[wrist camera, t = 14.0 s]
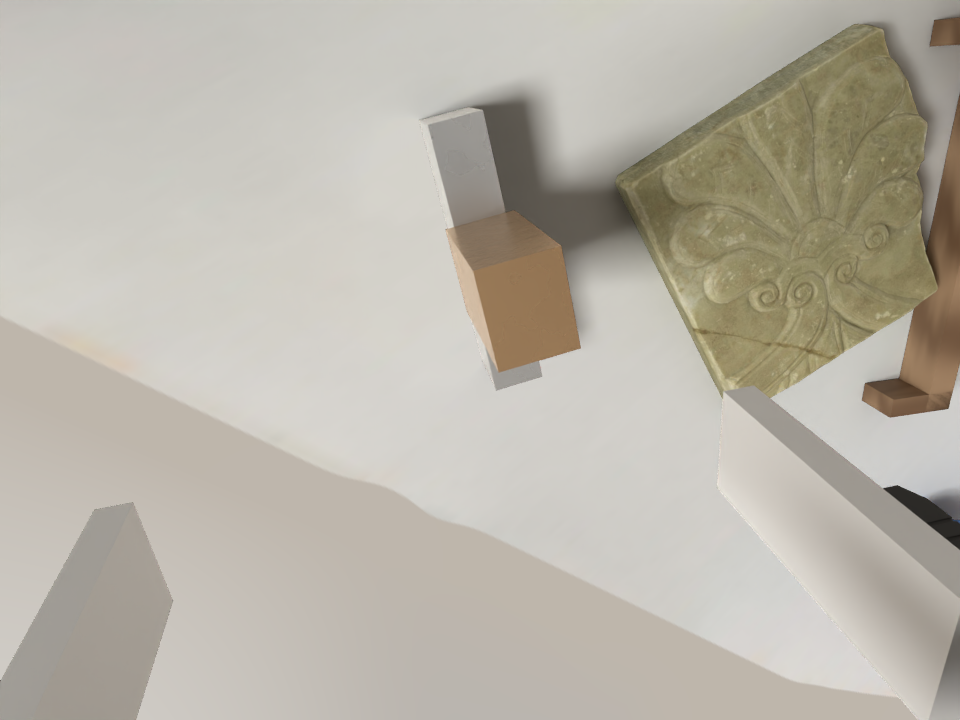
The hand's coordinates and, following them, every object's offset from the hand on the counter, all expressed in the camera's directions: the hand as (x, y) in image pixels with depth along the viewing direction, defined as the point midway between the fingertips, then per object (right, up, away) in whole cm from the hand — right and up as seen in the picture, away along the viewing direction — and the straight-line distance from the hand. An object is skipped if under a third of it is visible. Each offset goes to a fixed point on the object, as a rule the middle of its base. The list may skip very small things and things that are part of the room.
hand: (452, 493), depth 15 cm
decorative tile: (+22, +12, +32) cm, 40 cm away
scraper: (0, +10, +27) cm, 29 cm away
